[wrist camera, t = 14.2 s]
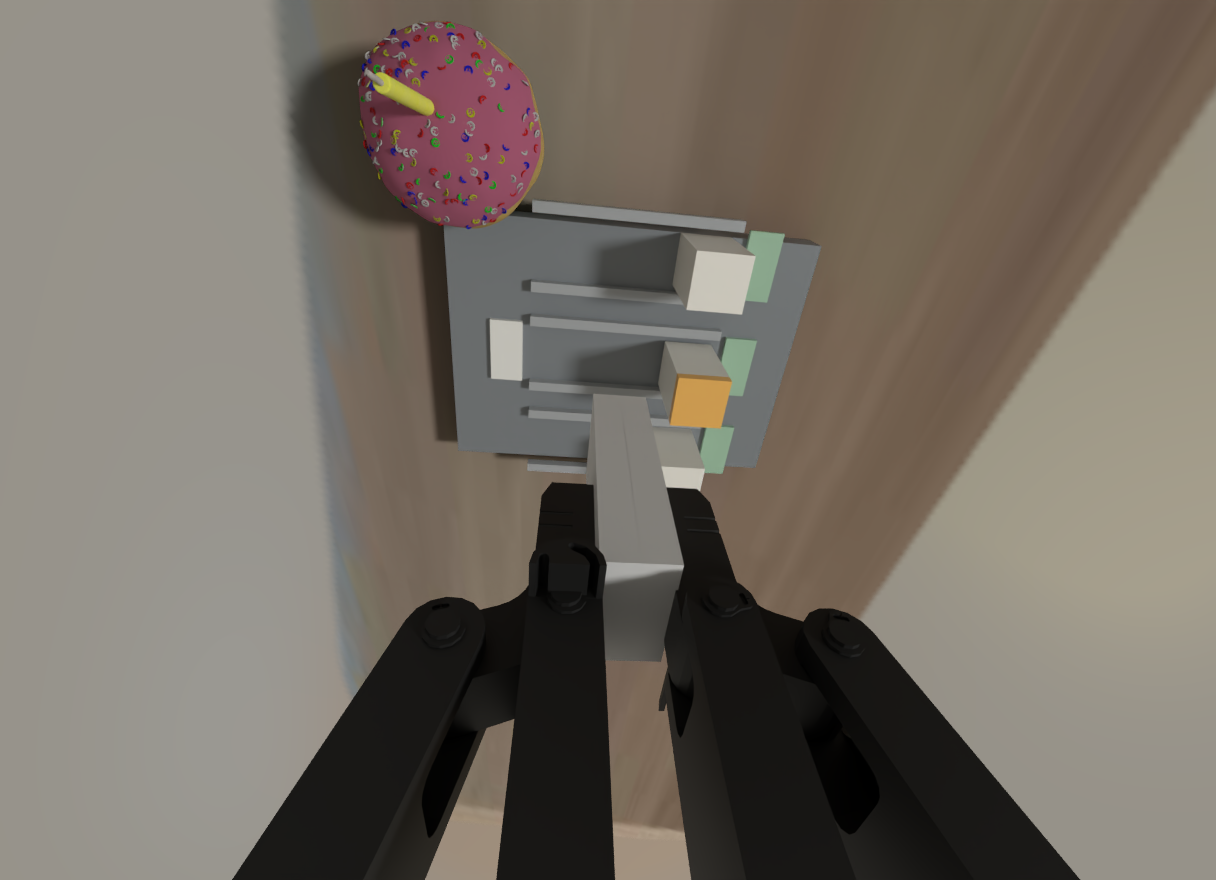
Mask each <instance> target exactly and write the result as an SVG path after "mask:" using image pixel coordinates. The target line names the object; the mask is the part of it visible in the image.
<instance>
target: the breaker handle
mask: <svg viewBox="0 0 1216 880" xmlns="http://www.w3.org/2000/svg"><path fill="white" fill-rule="evenodd" d="M658 385H659V389H660V392H661V396H662V399H663V403H664V406H665V410H666V413H667V416H668V420H669V423H670V425H673V426H689V427H704V428H720V429H721V426H722V421H723V417H724V413H725V409H726V405H727V401H728V397H729V393H730V389H731V385H732V380H731V379H730V377H729V375H728V374H727V372H726V370H725V368H724V367H723V365H722V363H721V362H720V360H719V358H718V356H717V355H716V353H715V351H714V349H713V348H712V346H711V345H708V344H695V343H683V342H670V341H665V344H664V350H663V356H662V362H661V368H660V374H659V381H658Z"/></svg>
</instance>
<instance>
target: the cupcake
mask: <svg viewBox="0 0 1216 880" xmlns="http://www.w3.org/2000/svg"><path fill="white" fill-rule="evenodd" d="M393 31H394V32H393ZM367 54H368V56H369V57H368V56H367ZM369 54H370V55H369ZM365 59H367V61H366V64H365V63H364V64H363V65H362V71H363V72H362V75H361V78H360V79H359V80H358V86H359V100H360V111H361V119H362V120H360V125H361V127H362V128H363V132H364V138H365V140H364V142H363V145H364V148H366V149H367V152H368V154H369V156H370V157H371V159H372V163H373V164H374V165H375V167H376V169H377V171H378V178H379V179H380V180H381V178H382V180H383V182H384V184H385V186H386V187H387V189H388V190H389V191H390V192H391V193H392V194H393V195H394V196H395V198H396V200H397V201H399V202H401V205H402V206H403V207H404V208H409V209H411V210H412V211H414V212H415V213H417V214H418V215H420V216H421V217H423V218H424V219H426V220H428V221H430V222H433V223H436V224H438V225H439V226H443V225H448V226H453V227H461V228H467V229H476V228H483V227H487V226H490V225H493V224H495V223H498V222H500V221H502V220H503V219H505V218H506V217H508V216H509V215H510V214H511V213H512V212H513V211H514V210H515V209H516V208H517V206H518V205H519V204H520V203H521V201H522V200H523V198H524V197H525V196H526V194H527V193H528V191H529V190H530V188H531V187H532V185H533V184H534V183H535V181H536V180H537V178H538V176H539V173H540V170H541V167H542V163H543V158H544V139H543V133H542V128H541V123H540V119H539V114H538V110H537V105H536V102H535V98H534V94H533V90H532V87H531V84H530V82H529V80H528V78H527V76H526V75H525V74H524V72H523V71H522V70H521V69H520V68H519V67H518V66H517V65H516V64H515V63H514V62H513V61H512V60H511V59H510V58H509V57H508V56H507V55H506V54H505V53H504V52H503V51H501V50H500V49H499V48H498V47H497V46H495V45H494V44H493V43H491V42H490V41H489V40H487V39H486V38H485V37H484V36H483V35H482V34H481V33H480V32H479V31H476V30H474V29H472V28H469V27H466V26H463V25H459V24H455V23H451V22H446V21H429V22H419V23H418V24H413V25H411V26H408V27H406V28H404V29H401V30H399V31H396V30H395V29H392V30H391V33H390V35H389V36H388V37H386V38H383V40H382V41H381V42H380V43H378V45H377V46H376V47H375V48H374V49H373V50H372V52H370V51H368V52H366V54H365ZM361 122H362V123H361ZM365 144H366V146H365ZM403 204H404V205H403Z"/></svg>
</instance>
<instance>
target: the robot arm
mask: <svg viewBox="0 0 1216 880" xmlns="http://www.w3.org/2000/svg"><path fill="white" fill-rule="evenodd" d="M664 646H665V651H666V657H667V664H668V668H667V672H666V676H665V680H664V684H663V688H662V691H661V695H660V699H659V711H664V709H665V706H666V703H667V710H668V717H669V724H670V731H671V738H672V746H673V753H674V760H675V767H676V774H677V781H678V788H679V795H680V802H681V809H682V817H683V824H684V831H685V838H686V845H687V852H688V859H689V866H690V873H691V880H1080V879H1079V878H1078V877H1077V875H1076V874H1075V873H1074V872H1073V871H1072V869H1071V868H1070V867H1069V866H1068V865H1067V863H1066V862H1065V861H1064V860H1063V859H1062V857H1061V856H1060V855H1059V854H1058V853H1057V851H1056V850H1055V849H1054V848H1053V847H1052V845H1051V844H1050V843H1049V842H1048V841H1047V839H1046V838H1045V837H1044V836H1043V835H1042V833H1041V832H1040V831H1039V830H1038V829H1037V827H1036V826H1035V825H1034V824H1033V823H1032V822H1031V820H1030V819H1029V818H1028V817H1027V816H1026V814H1025V813H1024V812H1023V811H1022V810H1021V808H1020V807H1019V806H1018V805H1017V804H1016V802H1015V801H1014V800H1013V799H1012V798H1011V796H1010V795H1009V794H1008V793H1007V792H1006V790H1004V788H1003V787H1002V786H1001V784H1000V783H999V782H998V781H997V780H996V778H995V777H994V776H993V775H992V774H991V773H990V771H989V770H988V769H987V768H986V767H985V765H984V764H983V763H982V762H981V761H980V759H979V758H978V757H977V756H976V755H975V753H974V752H973V751H972V750H971V749H970V747H969V746H968V745H967V744H966V743H965V742H964V740H963V739H962V738H961V737H960V735H959V734H958V733H957V732H956V731H955V730H954V729H953V727H952V726H951V725H950V724H949V722H948V721H947V720H946V719H945V718H944V716H943V715H942V714H941V713H940V712H939V710H938V709H937V708H936V707H935V706H934V704H933V703H932V702H931V701H930V700H929V698H928V697H927V696H926V695H925V694H924V693H923V691H922V690H921V689H920V688H919V686H918V685H917V684H916V683H915V682H914V681H913V679H912V678H911V677H910V676H909V675H908V673H907V672H906V671H905V670H904V669H903V667H902V666H901V665H900V664H899V663H898V661H897V660H896V659H895V658H894V657H893V655H892V654H891V653H890V652H889V651H888V650H887V648H886V647H885V646H884V645H883V644H882V642H881V641H880V640H879V639H878V637H877V636H876V635H875V634H874V633H873V632H872V631H871V630H870V629H869V628H868V627H867V626H866V625H865V624H864V623H863V622H862V621H860V620H858V619H857V618H855V617H853V616H851V615H850V614H848V613H846V612H842V611H839V610H836V609H817V610H815V611H813V612H810V613H809V614H808V616H807V617H806V619H805V620H804V622H803V621H799V620H796V619H793V618H789V617H786V616H783V615H780V614H776V613H774V612H771V611H769V610H766V609H764V608H762V607H760V606H759V605H757V603H756V601H755V599H754V598H753V596H752V594H751V593H750V592H749V591H748V590H747V589H746V588H744V587H743V586H742V585H741V584H739V583H737V581H736V579H735V576H734V573H733V570H732V567H731V564H730V561H729V558H728V555H727V552H726V549H725V546H724V543H723V540H722V537H721V534H719V528H718V525H717V522H716V521H715V516H714V513H713V510H712V507H711V504H710V502H709V501H708V500H707V499H706V498H705V497H704V496H703V495H702V494H701V493H700V491H699V490H698V489H690V488H672V487H666V484H665V480H664V475H663V471H662V467H661V462H660V458H659V453H658V449H657V445H656V440H655V436H654V432H653V427H652V423H651V418H650V414H649V410H648V405H647V401H646V397H635V396H621V395H606V394H593V405H592V415H591V426H590V437H589V448H588V459H587V470H586V484H572V483H554V482H552V483H551V484H550V486H549V487H548V488H547V489H546V491H545V492H544V493H543V494H542V498H541V507H540V515H539V525H538V533H537V542H536V550H535V551H534V552H533V554H532V557H531V559H530V562H529V585H528V587H527V588H526V590H525V591H523V592H522V593H521V594H520V595H519V596H518V597H516V598H515V599H513V600H511V601H509V602H507V603H504V604H501V605H498V606H494V607H490V608H486V609H482V610H479V609H478V607H477V606H476V605H475V604H474V603H472V602H469V601H467V600H465V599H463V598H454V597H444V598H440V599H435V600H431V601H429V602H427V603H425V604H424V605H422V606H420V607H418V608H416V609H415V611H414V612H413V613H412V614H411V615H410V616H409V617H408V618H407V619H406V620H405V622H404V623H403V625H402V626H401V628H400V629H399V631H398V632H397V634H396V635H395V637H394V638H393V640H392V641H391V643H390V644H389V646H388V647H387V649H386V650H385V652H384V653H383V655H382V656H381V658H380V659H379V661H378V662H377V664H376V665H375V667H374V668H373V670H372V671H371V673H370V674H369V676H368V677H367V679H366V680H365V682H364V683H363V685H362V686H361V688H360V689H359V691H358V692H357V694H356V695H355V697H354V698H353V700H352V701H351V703H350V704H349V706H348V707H347V709H346V710H345V712H344V713H343V714H342V716H341V717H340V719H339V721H338V722H337V724H336V725H335V726H334V728H333V729H332V731H331V732H330V734H329V736H328V737H327V739H326V740H325V742H324V743H323V744H322V746H321V748H320V749H319V750H318V752H317V753H316V755H315V756H314V758H313V759H312V761H311V763H310V764H309V765H308V767H307V769H306V770H305V771H304V773H303V775H302V776H301V777H300V779H299V780H298V782H297V784H296V785H295V786H294V788H293V790H292V791H291V793H290V794H289V796H288V797H287V798H286V800H285V801H284V803H283V804H282V806H281V807H280V809H279V810H278V812H277V813H276V815H275V816H274V818H273V819H272V821H271V822H270V824H269V825H268V827H267V828H266V830H265V831H264V833H263V834H262V836H261V837H260V839H259V840H258V842H257V843H256V845H255V846H254V848H253V849H252V851H251V852H250V854H249V855H248V857H247V858H246V860H245V861H244V863H243V864H242V866H241V867H240V869H239V870H238V872H237V873H236V875H235V876H234V878H233V879H232V880H425V878H426V876H427V873H428V871H429V868H430V866H431V863H432V861H433V858H434V856H435V853H436V851H437V848H438V846H439V843H440V841H441V839H442V836H443V834H444V831H445V829H446V826H447V824H448V821H449V819H450V817H451V814H452V812H453V809H454V807H455V804H456V802H457V799H458V797H459V794H460V792H461V790H462V787H463V785H464V782H465V780H466V777H467V775H468V772H469V770H470V767H471V765H472V762H473V760H474V758H475V755H476V753H477V750H478V748H479V745H480V743H481V740H482V738H483V735H484V733H485V731H486V728H488V727H491V726H494V725H497V724H500V723H503V722H506V721H509V720H512V719H514V728H513V737H512V746H511V754H510V763H509V772H508V781H507V790H506V799H505V807H504V816H503V825H502V834H501V843H500V852H499V860H498V869H497V878H496V880H615V870H614V847H613V824H612V801H611V778H610V755H609V733H608V710H607V687H606V664H605V660H617V661H657V662H661V659H662V655H663V651H664Z"/></svg>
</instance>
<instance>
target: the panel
mask: <svg viewBox="0 0 1216 880" xmlns="http://www.w3.org/2000/svg"><path fill="white" fill-rule="evenodd" d="M532 212H537V213H531V212H521V211H513V212H512V213H511V214H510V215H509V216H508V217H506V218H505V219H503V220H502V221H500V222H498V223H495V224H493V225H490V226H487V227H483V228H476V229H467V228H461V227H453V226H448V225H444V239H445V254H446V270H447V285H448V300H449V315H450V331H451V346H452V361H453V376H454V392H455V407H456V422H457V437H458V450H459V451H476V452H493V453H510V454H527V455H544V456H562V457H579V458H588V448H589V437H590V426H591V415H592V405H593V394H606V395H621V396H635V397H646V401H647V405H648V410H649V414H650V418H651V423H652V427H653V432H654V436H655V440H656V445H657V449H658V453H659V458H660V462H661V467H662V471H663V475H664V480H665V484H666V487H672V488H690V489H698V490H699V491H700V488H701V484H702V480H703V476H704V473H720V474H722V473H723V469H724V466H733V467H750V468H755V467H756V463H757V460H758V457H759V453H760V450H761V447H762V443H763V440H764V437H765V433H766V430H767V427H768V423H769V420H770V417H771V413H772V410H773V407H774V403H775V400H776V397H777V393H778V390H779V387H780V383H781V380H782V377H783V373H784V370H785V367H786V363H787V360H788V357H789V353H790V350H791V347H792V343H793V340H794V337H795V333H796V330H797V327H798V323H799V320H800V317H801V313H802V310H803V307H804V303H805V300H806V297H807V293H808V290H809V287H810V283H811V280H812V277H813V273H814V270H815V266H816V263H817V260H818V256H819V253H820V250H821V246H820V245H818V244H816V243H814V242H812V241H810V240H805V239H795V238H785V237H784V236H785V234H784V233H775V232H765V231H755V230H750V232H749V234H744V230H745V226H746V221H745V220H739V219H729V218H719V217H710V216H700V215H690V214H680V213H670V212H660V211H650V210H640V209H630V208H620V207H610V206H600V205H591V204H581V203H571V202H561V201H551V200H541V199H533V200H532ZM541 213H548V214H541ZM552 214H558V215H552ZM562 215H568V216H562ZM572 216H578V217H572ZM582 217H588V218H582ZM592 218H598V219H592ZM602 219H608V220H602ZM612 220H619V221H612ZM623 221H629V222H623ZM633 222H639V223H633ZM643 223H649V224H643ZM653 224H659V225H653ZM663 225H669V226H663ZM673 226H679V227H673ZM683 227H690V228H683ZM694 228H700V229H694ZM704 229H710V230H704ZM714 230H720V231H714ZM724 231H730V232H724ZM734 232H740V233H734ZM665 341H670V342H683V343H695V344H708V345H711V346H712V348H713V349H714V351H715V353H716V355H717V356H718V358H719V360H720V362H721V363H722V365H723V367H724V368H725V370H726V372H727V374H728V375H729V377H730V379H731V380H732V385H731V389H730V393H729V397H728V401H727V405H726V409H725V413H724V417H723V421H722V426H721V429H720V428H704V427H689V426H673V425H670V423H669V420H668V416H667V413H666V410H665V406H664V403H663V399H662V396H661V392H660V389H659V385H658V381H659V374H660V368H661V362H662V356H663V350H664V344H665ZM586 470H587V462H569V461H552V460H535V459H528V469H527V471H544V472H562V473H580V474H586Z"/></svg>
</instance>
